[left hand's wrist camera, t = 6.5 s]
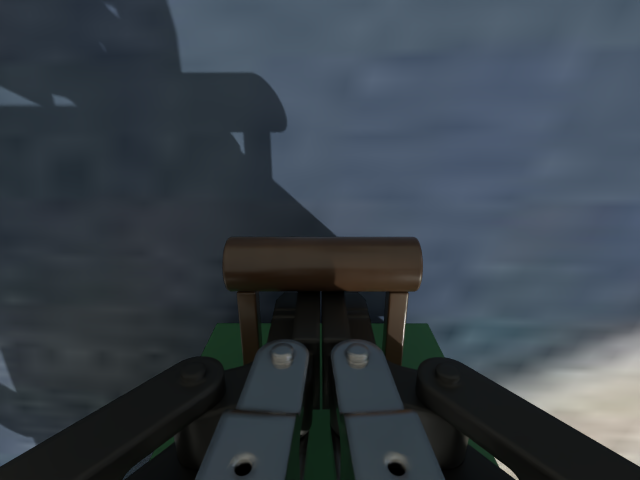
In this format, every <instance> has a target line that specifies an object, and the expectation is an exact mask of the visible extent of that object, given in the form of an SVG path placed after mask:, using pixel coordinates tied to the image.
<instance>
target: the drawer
mask: <svg viewBox="0 0 640 480" xmlns="http://www.w3.org/2000/svg"><path fill="white" fill-rule="evenodd" d="M222 269H223V279H224V283H225V286H226V288H227V290H229V291H238V292H237V303H238V314H239V323H217V324H216V326H215V328H214V330H213V333H212V335H211V337H210V339H209V341H208V343H207V345H206V347H205V349H204V351H203V353H202V355H201V356H207V357H212V358H215V359H217V360H219V361H220V362H221V364H222V365H223V368H224V370H227V369H231V368H235V367H240V366H243V365H246V364H248V363H250V362H252V361H254V358H255V355H256V353H257V351H258V350H259V349H260V348H261V347H262V346H263V345H265V344H266V343H267V339H268V335H269V330H270V326H271V323H261V316H260V301H259V291H386V299H385V313H384V323H371V325H372V329H373V334H374V338H375V342H376V345H377V346H378V347H379V348H380V349H381V350H382V351H383V353H384V355H385V358H386V359H387V360H389V361H390V362H392V363H394V364H397V365H400V366H403V367H408V368H412V369H416V370H418V367H419V365H420V363H421V362H423V361H424V360H426V359H428V358H433V357H444V355H443V353H442V351H441V349H440V347H439V345H438V343H437V341H436V339H435V337H434V335H433V333H432V331H431V329H430V327H429V325H428V324H406V315H407V304H408V292H414V291H417V290H418V289H419V287H420V284H421V280H422V273H423V258H422V251H421V247H420V243H419V241H418V239H417V238H415V237H230V238H228V240H227V241H226V244H225V247H224V252H223V262H222ZM174 442H175V441H174V436H173V437H172V438H171V439H169V440H168V441H167V442H165V443H164V444H163V445H161V446H160V447H159V448H157V449H156V450H154V452H153V454H152V456H151V458H150V460H151V459H153V458H154V457H155V456H156V455H158V454H159V453H160V452H162V451H163V450H164V449H166V448H167V447H168V446H170V445H171V444H172V443H174ZM468 444H469V445H470V446H472V447H473V448H474V449H476V450H477V451H478V452H480V453H481V454H482V455H484V456H485V457H486V458H487V459H489V460H490V461H491V462H493V463H494V464H495V465H497V466H498V464H497V462H496V460H495V458H494V456H492V455H491V454H490V453H488V452H487V451H486V450H484V449H483V448H481V447H480V446H479V445H477V444H476V443H475V442H473V441H472V440H471V439H468ZM150 460H149V461H150ZM498 467H499V466H498ZM305 480H335V477H334V468H333V459H332V451H331V442H330V409H322V323H320V410H313V420H312V425H311V428H310V442H309V451H308V459H307V468H306V477H305Z"/></svg>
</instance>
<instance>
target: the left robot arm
mask: <svg viewBox="0 0 640 480" xmlns="http://www.w3.org/2000/svg"><path fill="white" fill-rule="evenodd" d="M322 409H330V442H331V451H332V459H333V468H334V477H335V480H515V479H514V478H513V477H511V476H510V475H509V474H507V473H506V472H505V471H503V470H502V469H501V468H499V467H498V466H497V465H495V464H494V463H493V462H491V461H490V460H489V459H487V458H486V457H485V456H484V455H482V454H481V453H480V452H478V451H477V450H476V449H474V448H473V447H472V446H470V445H469V444H468V439H471V440H472V441H473V442H475V443H476V444H477V445H479V446H480V447H481V448H483V449H484V450H486V451H487V452H488V453H490V454H491V455H492V456H494V457H495V458H496V459H498V460H499V461H500V462H502V463H503V464H504V465H506V466H507V467H508V468H509V469H511V470H512V471H513V472H514V474H515V475H516V476H517V477H518V479H519V480H640V467H639V466H638V465H636V464H634V463H632V462H631V461H629V460H627V459H626V458H624V457H622V456H620V455H619V454H617V453H615V452H614V451H612V450H610V449H608V448H607V447H605V446H603V445H602V444H600V443H598V442H596V441H595V440H593V439H591V438H590V437H588V436H586V435H584V434H583V433H581V432H579V431H577V430H576V429H574V428H572V427H571V426H569V425H567V424H565V423H564V422H562V421H560V420H559V419H557V418H555V417H553V416H552V415H550V414H548V413H547V412H545V411H543V410H541V409H540V408H538V407H536V406H535V405H533V404H531V403H529V402H528V401H526V400H524V399H523V398H521V397H519V396H517V395H516V394H514V393H512V392H511V391H509V390H507V389H505V388H504V387H502V386H500V385H499V384H497V383H495V382H493V381H492V380H490V379H488V378H487V377H485V376H483V375H481V374H480V373H478V372H476V371H475V370H473V369H471V368H469V367H468V366H466V365H464V364H462V363H461V362H458V361H456V360H453V359H450V358H445V357H433V358H428V359H426V360H424V361H423V362H421V363H420V365H419V367H418V370H416V369H412V368H408V367H403V366H400V365H397V364H394V363H392V362H390V361H389V360H387V359H386V358H385V355H384V353H383V351H382V350H381V349H380V348H379V347H378V346H377V345H376V342H375V338H374V334H373V329H372V325H371V321H370V318H369V313H368V308H367V304H366V300H365V299H364V298H363V297H362V296H361V295H360V294H359V293H358V292H344V291H322ZM313 410H320V291H298V292H284V293H283V294H282V295H281V296H280V297H279V298H278V299H277V300H276V304H275V308H274V313H273V318H272V321H271V326H270V330H269V335H268V339H267V343H266V344H265V345H263V346H262V347H261V348H260V349H259V350H258V351H257V353H256V355H255V358H254V361H252V362H250V363H248V364H246V365H243V366H240V367H235V368H231V369H227V370H224V368H223V365H222V364H221V362H220V361H219V360H217V359H215V358H212V357H207V356H199V357H192V358H189V359H186V360H183V361H181V362H179V363H177V364H176V365H174V366H172V367H171V368H169V369H167V370H165V371H164V372H162V373H160V374H159V375H157V376H155V377H153V378H152V379H150V380H148V381H147V382H145V383H143V384H141V385H140V386H138V387H136V388H135V389H133V390H131V391H129V392H128V393H126V394H124V395H123V396H121V397H119V398H117V399H116V400H114V401H112V402H111V403H109V404H107V405H105V406H104V407H102V408H100V409H99V410H97V411H95V412H93V413H92V414H90V415H88V416H87V417H85V418H83V419H81V420H80V421H78V422H76V423H75V424H73V425H71V426H69V427H68V428H66V429H64V430H63V431H61V432H59V433H57V434H56V435H54V436H52V437H51V438H49V439H47V440H45V441H44V442H42V443H40V444H39V445H37V446H35V447H33V448H32V449H30V450H28V451H27V452H25V453H23V454H21V455H20V456H18V457H16V458H14V459H13V460H11V461H9V462H8V463H6V464H4V465H2V466H1V467H0V480H122V479H123V477H124V476H125V475H126V473H127V472H128V471H129V470H130V469H131V468H132V467H133V466H134V465H136V464H137V463H138V462H140V461H141V460H142V459H144V458H145V457H146V456H148V455H149V454H150V453H152V452H153V451H154V450H156V449H157V448H159V447H160V446H161V445H163V444H164V443H165V442H167V441H168V440H169V439H171V438H172V437H173V436H174V441H175V442H174V443H172V444H171V445H170V446H168V447H167V448H166V449H164V450H163V451H162V452H160V453H159V454H158V455H156V456H155V457H154V458H153V459H151V460H150V461H149V462H147V463H146V464H145V465H143V466H142V467H141V468H139V469H138V470H137V471H135V472H134V473H133V474H131V475H130V476H129V477H127V478H126V479H125V480H305V477H306V468H307V459H308V451H309V442H310V428H311V425H312V420H313Z"/></svg>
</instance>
